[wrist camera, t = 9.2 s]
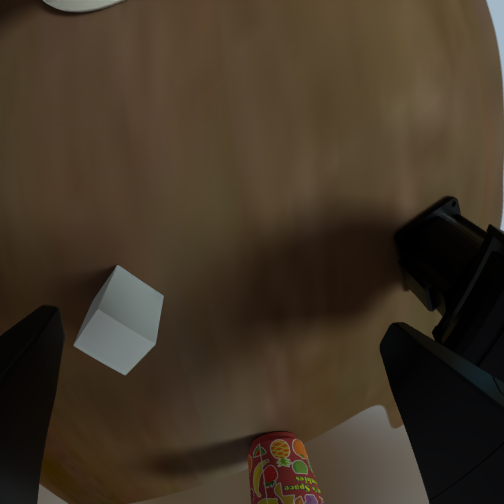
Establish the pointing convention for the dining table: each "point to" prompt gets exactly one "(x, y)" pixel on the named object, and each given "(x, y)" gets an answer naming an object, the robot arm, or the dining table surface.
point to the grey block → (121, 322)
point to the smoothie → (281, 471)
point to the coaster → (82, 5)
